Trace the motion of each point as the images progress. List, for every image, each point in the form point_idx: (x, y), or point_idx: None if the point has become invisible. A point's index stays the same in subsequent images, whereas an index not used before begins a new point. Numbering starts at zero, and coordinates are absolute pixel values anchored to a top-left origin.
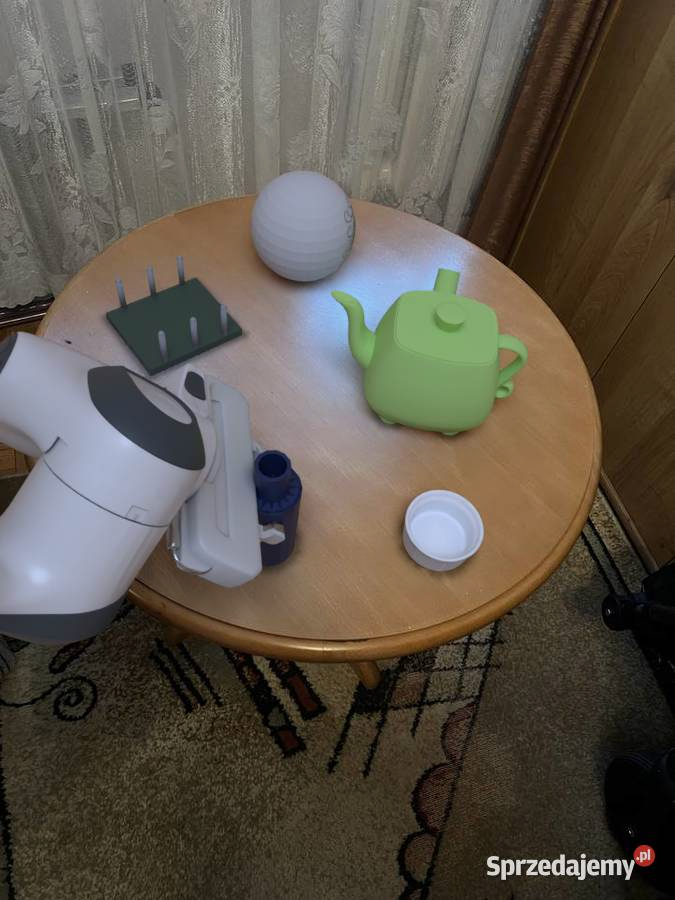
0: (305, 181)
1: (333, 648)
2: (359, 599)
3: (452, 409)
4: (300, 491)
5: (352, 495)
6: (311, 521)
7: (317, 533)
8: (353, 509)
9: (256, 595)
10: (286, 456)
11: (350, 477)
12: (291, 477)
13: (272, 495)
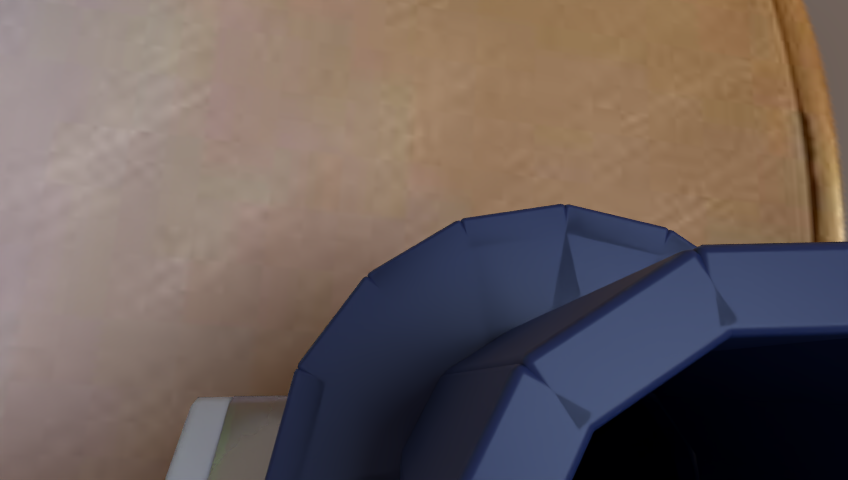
0: None
1: (839, 220)
2: (674, 119)
3: None
4: (610, 224)
5: (278, 88)
6: (377, 247)
7: (428, 230)
8: (337, 93)
9: None
10: (607, 328)
11: (199, 85)
12: (462, 292)
13: None
